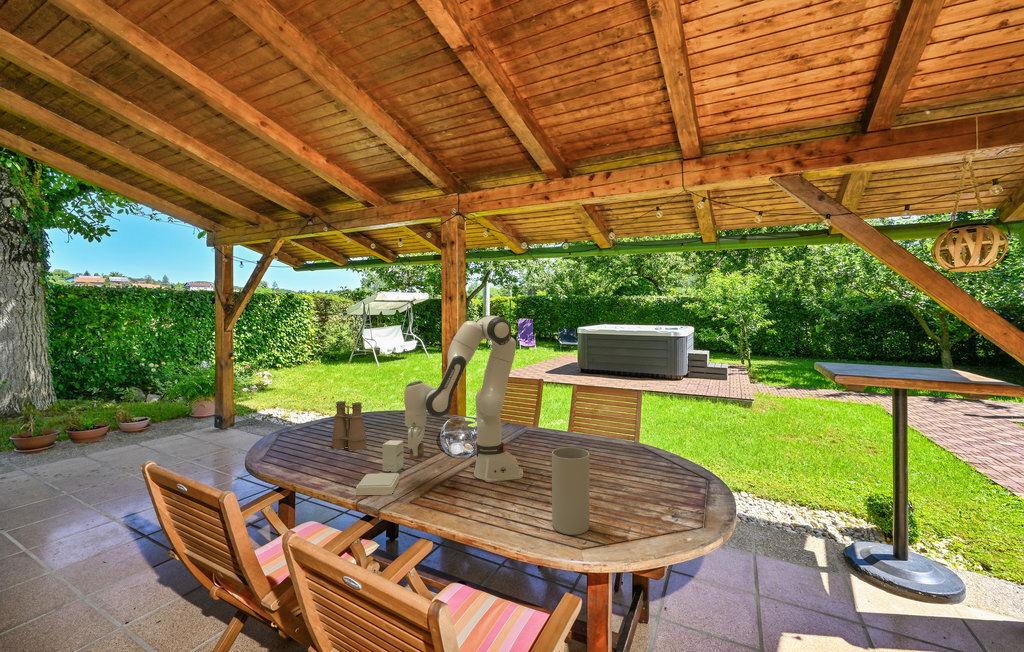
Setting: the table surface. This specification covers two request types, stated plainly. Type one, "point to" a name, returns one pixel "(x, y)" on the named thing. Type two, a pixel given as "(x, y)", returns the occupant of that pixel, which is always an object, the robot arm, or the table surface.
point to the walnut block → (420, 452)
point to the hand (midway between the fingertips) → (417, 452)
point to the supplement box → (392, 455)
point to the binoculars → (349, 427)
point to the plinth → (377, 484)
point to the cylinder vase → (570, 490)
